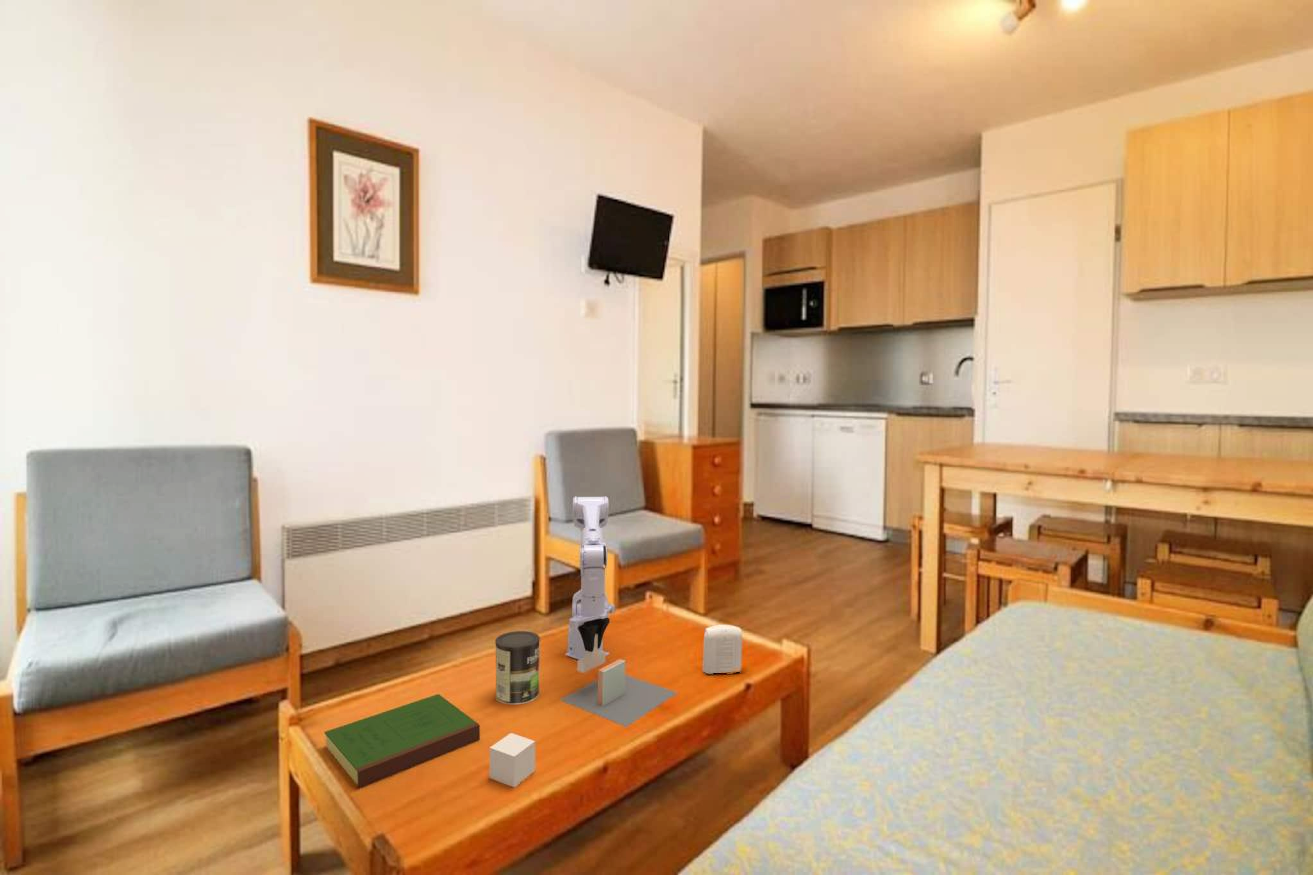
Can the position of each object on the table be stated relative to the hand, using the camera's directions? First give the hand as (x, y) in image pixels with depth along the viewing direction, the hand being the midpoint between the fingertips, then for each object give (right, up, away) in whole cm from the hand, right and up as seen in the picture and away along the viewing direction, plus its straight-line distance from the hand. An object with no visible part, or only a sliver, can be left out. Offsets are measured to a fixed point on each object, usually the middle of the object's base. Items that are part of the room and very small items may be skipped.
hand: (592, 648), depth 155 cm
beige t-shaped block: (0, -4, 0) cm, 4 cm away
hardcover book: (-36, -12, -24) cm, 45 cm away
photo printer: (+33, -10, +13) cm, 37 cm away
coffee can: (-18, -11, -3) cm, 21 cm away
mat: (+7, -11, -3) cm, 13 cm away
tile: (+5, -10, -4) cm, 12 cm away
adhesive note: (-12, -13, -34) cm, 38 cm away
